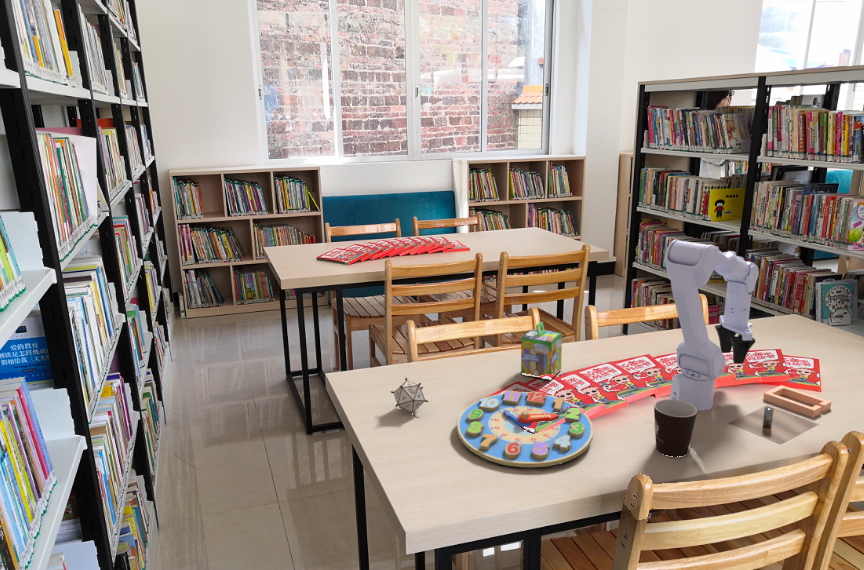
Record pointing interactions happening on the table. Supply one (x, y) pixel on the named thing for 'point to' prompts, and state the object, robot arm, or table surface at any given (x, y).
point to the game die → (409, 396)
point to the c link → (818, 403)
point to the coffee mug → (673, 426)
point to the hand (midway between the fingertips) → (731, 357)
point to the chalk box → (541, 352)
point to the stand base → (774, 425)
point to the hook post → (768, 417)
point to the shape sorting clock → (510, 445)
